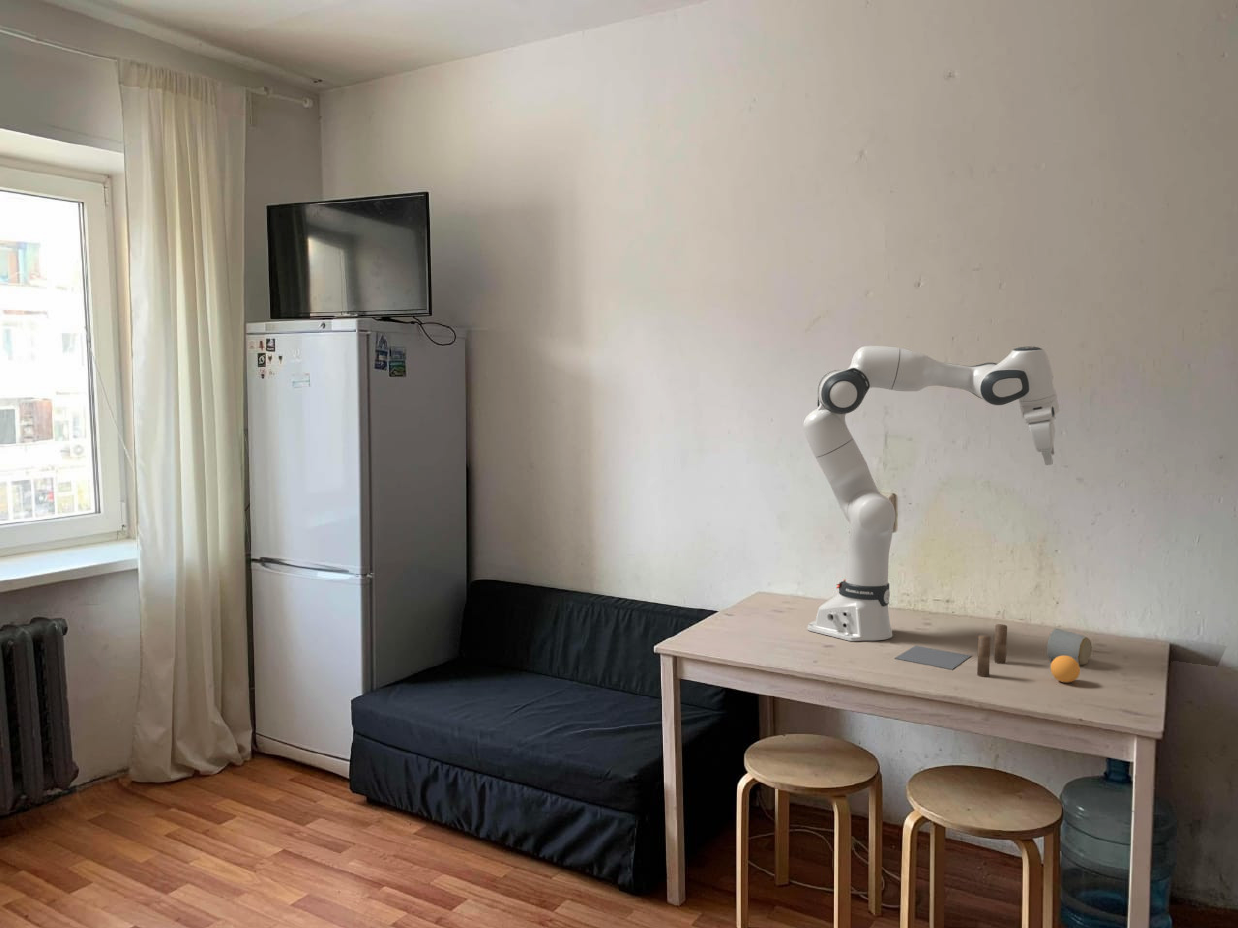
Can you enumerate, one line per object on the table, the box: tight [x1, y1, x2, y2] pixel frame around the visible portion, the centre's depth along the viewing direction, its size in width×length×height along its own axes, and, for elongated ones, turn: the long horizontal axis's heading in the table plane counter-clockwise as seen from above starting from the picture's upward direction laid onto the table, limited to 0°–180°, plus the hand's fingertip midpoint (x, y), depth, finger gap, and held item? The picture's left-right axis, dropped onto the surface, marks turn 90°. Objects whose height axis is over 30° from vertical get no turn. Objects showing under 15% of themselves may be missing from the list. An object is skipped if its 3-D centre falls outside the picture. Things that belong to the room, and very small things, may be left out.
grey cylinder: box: [1046, 628, 1093, 666], centre depth 226 cm, size 11×8×8 cm
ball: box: [1050, 655, 1081, 683], centre depth 210 cm, size 6×6×6 cm
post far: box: [993, 623, 1008, 664], centre depth 225 cm, size 3×3×9 cm
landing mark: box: [894, 645, 972, 670], centre depth 229 cm, size 14×14×1 cm
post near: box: [976, 635, 991, 678], centre depth 215 cm, size 3×3×9 cm
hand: (1050, 459), depth 239 cm, fingers open, 8 cm apart
